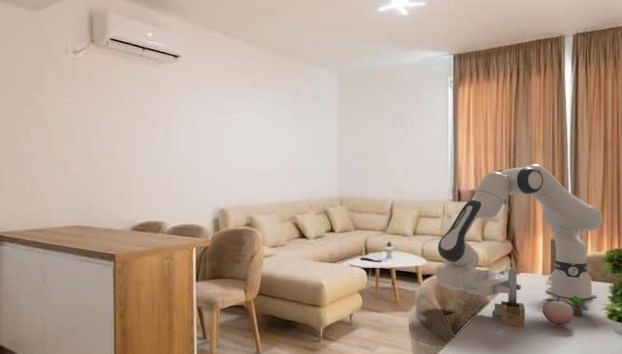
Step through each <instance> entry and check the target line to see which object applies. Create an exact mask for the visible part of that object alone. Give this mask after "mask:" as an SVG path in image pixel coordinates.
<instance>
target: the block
mask: <svg viewBox="0 0 622 354" xmlns="http://www.w3.org/2000/svg"><path fill="white" fill-rule="evenodd" d="M501 301H505V302H508V299H499V298H494V315H495V316H500V317H501Z"/></svg>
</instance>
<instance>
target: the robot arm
mask: <svg viewBox="0 0 622 354" xmlns="http://www.w3.org/2000/svg"><path fill="white" fill-rule="evenodd" d="M518 195H532V196H533V197H534V198H535V199H536V200H537V201H538V203H540V204H541V206H543V210H542V219H543V221H544V223H545V224H546V225H547V226H548V227H549V228H550V230H551V232H552V235H553V238H555V243H556V260H555V264H554V265H555V270H554V272H553V273H552V274H551V275H550V274H549V275H548V281H549V283H548V284H547V286H546V288H545V292H546V293H548V294H552V295H555V296H557V297H558V296H559V297H563V298H570V299H571V297H572V298H573V297H574V296H576V297H578V298H582V299H584V300H586V299H590V298H597V294H596V293H594V292H593V288H592V286H593V285H592V284H593V283H592V276H591V275H589V274H588V263H587V245H586V243H585V242H584V240H582V239H581V238H580V237H579V235H578V232H577V231H582V232H587V231H595V230H598V229H599V228H601V226H602V224H603V219H604V217H603V213H602V211H601V210H600V209H599V208H598V207H596V206H594V205H591V204H589V203H587V202H585V201H583V200H582V199H580V198H578V197H577V196H575V195H574V194H572V193H571V192H570V191H569V190H567V188H565V187H564V185H562V184H561V183H560V182H559V180H557V178H556V177H555V176H554V175H553V174H552V173H551V172H550V171H549V170H547V169H546V168H544V166H542V165H540V164H537V163H533V164H529V165H526V166H525V167H512V168H507V169H500V170H497V171H491V172H489V173H487V174H486V175H485V176H484V178H483V179H482V180H481V181H480V183H479V185H478V187H477V189H476V191H475V192H474V194H473V196H472V199H470V200H468V201H467V202H466V203H465V205H463V206H462V208H461V210H460V212H459V213H458V215H457V216H456V218H455V220H454V221H453V223H452V225H451V226H450V228H449V229H448V231H446V233H445V234H444V235H443V236H442V237H441V239H440V240H439V241H438V246H437V251H438V254H439V255H440V256H441V258H443V259H444V261H443V262H442V263H441V264H439V265H437V267H436V268H435V277H436V281H437V283H438V284H440V285H441V286H443V287H444V288H445V287H446V288H449V289H451V290H456V291H459V290H460V291H461V290H462V291H464V292H466V293H469V294H474V295H478V296H479V295H481V296H486V297H487V296H488V297H489V296H492V295H494V294H498V293H499V294H509V293H511V292H512V291H511V290H512V289H511V288H509V287H508V275H506V274H502V273H498V272H493V270H489V269H484V270H482V269H476V268H477V265H478V262H479V253H478V252H477V251H476V250H475V249H474V248H473V247H472V246H471V245H470V244H469V243H467V241H466V236H467V234H468V232H469V231H470V229H471V227H472V226H473V224H474V223H475V222H476V220H477V219H478V220H479V219H483V220H484V219H485V220H489V219H493V218H495V217H497V215H498V214H499V213H500V211H501V209H502V207H503V204H504V202H505V200H506V197H507V196H518ZM521 289H522V285H521V284H520V283H517V291H519V290H521Z"/></svg>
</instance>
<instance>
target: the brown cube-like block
mask: <svg viewBox="0 0 622 354" xmlns="http://www.w3.org/2000/svg"><path fill="white" fill-rule="evenodd" d="M525 311H526V308H525V305H524V303H522V302H516V307H513V306H508V302H505V301H501V316H500V319H501V320H500V321H501V325H505V326H507V325H508V326H513V327H514V326H515V327H523V328H525V325H526V324H525V323H526V320H525V319H526V313H525Z"/></svg>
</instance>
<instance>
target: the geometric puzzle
mask: <svg viewBox="0 0 622 354" xmlns="http://www.w3.org/2000/svg"><path fill="white" fill-rule="evenodd" d="M568 300H569V301H570V302H571V303H573V304H574V306H573V305H572V304H570V305H571V306H572V308H573V312H574V314H573V315H575V317H576V316H577V317H578V318H579V317H580V316H582V315H583V311H585V313H586V312H588V311H589V308H588V306H587V305H586V301H585V300H586V299H582V298H578V297H576V296H574V297H573V298H572V297H571V298H569V299H568Z"/></svg>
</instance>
